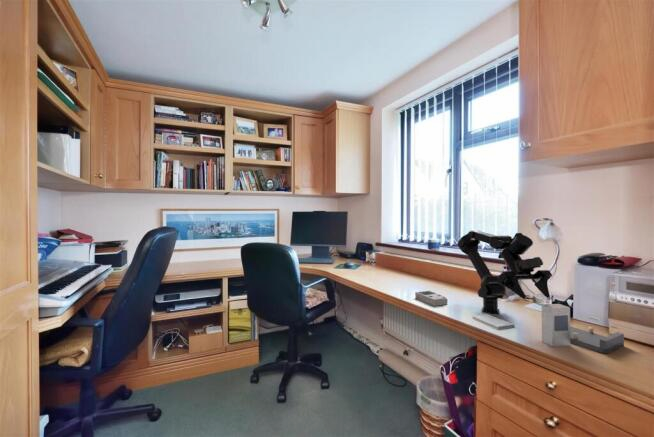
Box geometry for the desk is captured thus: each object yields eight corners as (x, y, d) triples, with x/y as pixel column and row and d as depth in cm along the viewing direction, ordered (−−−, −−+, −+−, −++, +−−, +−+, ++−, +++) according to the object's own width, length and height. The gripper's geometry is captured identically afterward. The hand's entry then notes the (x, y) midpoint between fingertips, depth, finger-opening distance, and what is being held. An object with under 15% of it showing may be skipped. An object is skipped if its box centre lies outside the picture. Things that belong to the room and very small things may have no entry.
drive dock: (547, 334, 101) (547, 323, 101) (565, 328, 106) (565, 318, 106) (606, 354, 87) (606, 341, 87) (623, 346, 92) (623, 333, 92)
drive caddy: (541, 341, 96) (541, 304, 96) (559, 340, 97) (558, 303, 97) (552, 346, 92) (552, 308, 92) (570, 345, 93) (570, 307, 93)
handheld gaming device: (434, 307, 135) (434, 299, 135) (414, 298, 149) (415, 291, 149) (449, 305, 138) (449, 297, 138) (428, 297, 151) (428, 290, 151)
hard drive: (514, 324, 108) (488, 313, 120) (497, 326, 106) (472, 315, 118) (514, 328, 109) (488, 317, 120) (497, 331, 106) (472, 319, 118)
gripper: (502, 250, 106) (525, 287, 95) (548, 249, 107) (576, 285, 97) (488, 266, 114) (508, 302, 103) (531, 265, 116) (555, 300, 105)
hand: (536, 297), depth 102 cm, fingers open, 9 cm apart
